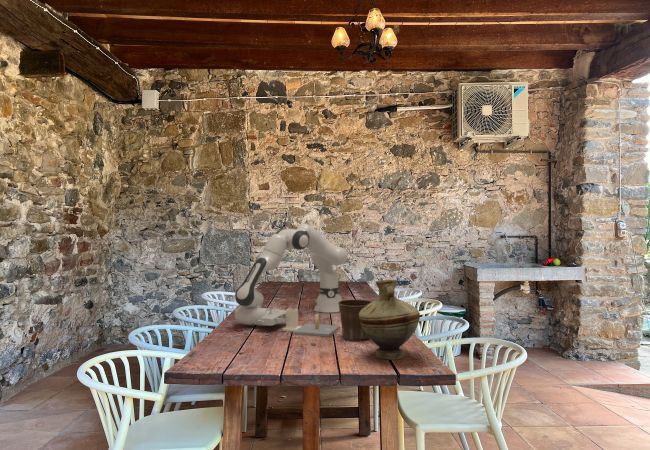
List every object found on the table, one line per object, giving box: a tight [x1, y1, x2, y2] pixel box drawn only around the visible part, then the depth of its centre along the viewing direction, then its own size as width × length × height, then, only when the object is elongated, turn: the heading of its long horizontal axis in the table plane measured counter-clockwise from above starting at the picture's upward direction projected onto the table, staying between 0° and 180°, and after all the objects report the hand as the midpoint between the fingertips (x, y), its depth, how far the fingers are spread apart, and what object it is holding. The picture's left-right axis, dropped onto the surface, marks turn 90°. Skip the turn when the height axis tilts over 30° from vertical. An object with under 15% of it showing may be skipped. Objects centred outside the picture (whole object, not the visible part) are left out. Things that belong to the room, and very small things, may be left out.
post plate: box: [292, 313, 341, 338], centre depth 210 cm, size 18×18×8 cm
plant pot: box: [338, 299, 373, 342], centre depth 197 cm, size 16×16×16 cm
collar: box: [281, 307, 303, 332], centre depth 214 cm, size 8×8×10 cm
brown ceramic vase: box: [359, 279, 421, 361], centre depth 168 cm, size 24×24×30 cm
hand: (289, 318), depth 214 cm, fingers open, 8 cm apart
